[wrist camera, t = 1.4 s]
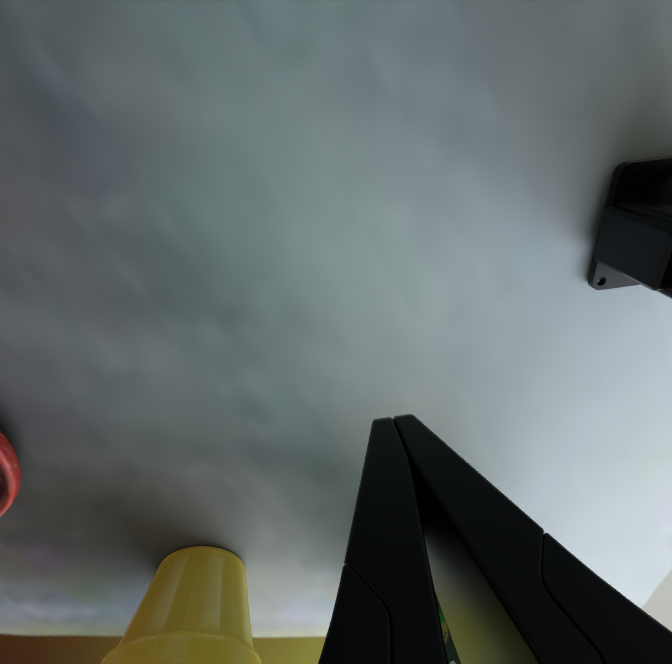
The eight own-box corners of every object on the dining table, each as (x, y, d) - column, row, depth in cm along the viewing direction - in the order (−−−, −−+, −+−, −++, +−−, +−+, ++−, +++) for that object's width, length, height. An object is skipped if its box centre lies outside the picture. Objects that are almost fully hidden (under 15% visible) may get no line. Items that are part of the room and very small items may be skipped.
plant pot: (103, 551, 30) (30, 731, 21) (236, 513, 29) (215, 683, 21) (172, 616, 35) (135, 781, 26) (285, 585, 34) (284, 744, 26)
